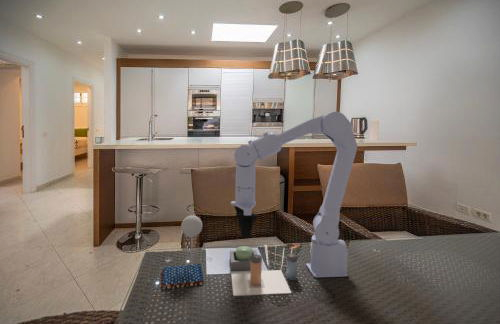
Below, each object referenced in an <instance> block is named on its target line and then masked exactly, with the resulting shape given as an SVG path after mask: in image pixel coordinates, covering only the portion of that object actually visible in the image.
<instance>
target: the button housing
mask: <svg viewBox="0 0 500 324" xmlns="http://www.w3.org/2000/svg"><path fill="white" fill-rule="evenodd" d="M252 255H258V252H257V250H256V249H255V250H253V249H252ZM229 263H230V272H239V271H250V267H251V261H250V260H236V250H229Z"/></svg>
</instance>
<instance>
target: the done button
mask: <svg viewBox="0 0 500 324" xmlns="http://www.w3.org/2000/svg"><path fill="white" fill-rule="evenodd" d="M252 250H253V248H252V247H250V246H243V245H242V246H238V247H236V248H235V251H236V260H250V257H251V256H252ZM236 260H235V261H236Z"/></svg>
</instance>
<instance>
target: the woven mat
mask: <svg viewBox="0 0 500 324" xmlns="http://www.w3.org/2000/svg"><path fill="white" fill-rule="evenodd" d="M203 275H204V274H203V271H202V266H201V263H193V264H192V265H191V264H189V263H187V264H185V265H184V264H182V265H178V264H177V265H175V266H173V265H171V266H167V265H166V266H165V267H163V269H162V271H161V281H162V282H161V285H160V286H161V288H162V290H166V289H168V290H169V289H175V288H177V289H178V288H180V287H181V288H184V287H189V286H190V287H193V286H195V287H197V286H198V285H197V284H199V285H200V286H203V283H205V281H204V276H203Z"/></svg>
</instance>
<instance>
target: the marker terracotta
mask: <svg viewBox="0 0 500 324" xmlns="http://www.w3.org/2000/svg"><path fill="white" fill-rule="evenodd" d="M250 261H251V267H250V270H249V271H250V284H251V285H252V286H260V285H261V271H262V267H263V266H262V264H263V263H262V262H263V256H262V255H260V254H257V255H252V256H251V257H250Z"/></svg>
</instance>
